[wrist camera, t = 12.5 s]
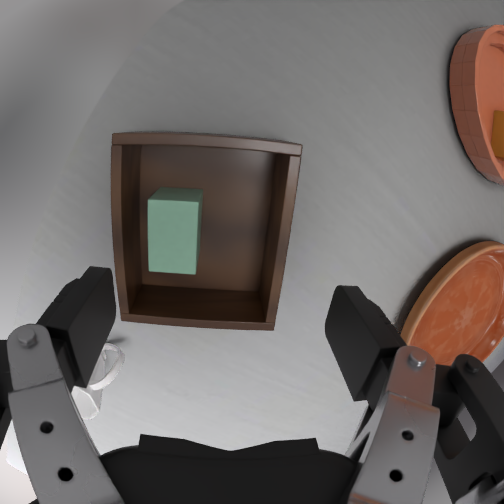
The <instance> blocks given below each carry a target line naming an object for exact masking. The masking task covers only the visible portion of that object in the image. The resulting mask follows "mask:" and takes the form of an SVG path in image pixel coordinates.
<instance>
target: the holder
mask: <svg viewBox="0 0 504 504" xmlns="http://www.w3.org/2000/svg"><path fill="white" fill-rule="evenodd" d="M301 154H302V145H301V144H297V143H293V142H288V141H282V140H274V139H266V138H257V137H247V136H236V135H223V134H208V133H189V132H123V133H113V134H112V147H111V216H112V236H113V251H114V263H115V274H116V283H117V292H118V300H119V307H120V315H121V321H128V322H137V323H147V324H158V325H170V326H182V327H197V328H214V329H236V330H270V331H273V330H274V326H275V320H276V315H277V309H278V303H279V298H280V292H281V286H282V280H283V274H284V268H285V262H286V256H287V250H288V244H289V237H290V231H291V224H292V218H293V211H294V204H295V198H296V191H297V184H298V176H299V169H300V162H301V157H300V156H301ZM160 187H171V188H190V189H203V201H202V218H201V236H200V253H199V258H198V264H197V270H196V274H181V273H167V272H153V271H149V262H148V199H149V198H150V197H151V196H152V195H153V194H154V193H155V192H156V191H157V190H158V189H159V188H160Z"/></svg>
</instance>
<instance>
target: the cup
mask: <svg viewBox="0 0 504 504" xmlns="http://www.w3.org/2000/svg"><path fill="white" fill-rule="evenodd" d="M106 349H109V350H114V351H116V352H118V357H117V359H116V361H115V363H114V365H113V366H112V368H111V370H110V371H109V372H108V373H107V374H106V375H105V363H104V361H105V360H106V358H107V356H106V354H105V351H104V350H106ZM123 362H124V353H123V352H122V351H121V350H120V349H119V347H118V346H116V345H114V344H111V343H105V344H104V347H103V349H102V351H101V354H100V356H99V358H98V361H97V363H96V366H95V368H94V370H93V373H92V375H91V378H90V380H89V383H88V385H87V388H81V387H77V386H74V388H73V390H72V392H71V394H72V396H73V399H74V401H75V404H76V406H77V408H78V411H79V413H80V415H81V417H82V419H86V420H92V419H93V418H94V417H95V416H96V415H97V414H98V413H99V412H100V405H101V397H102V390H103V388H104V387H105V386H107V385H109V384H110V383H111V381H112V380H113V379H114V378H115V377H116V376H117V374H118V372H119V371H120V369H121V367H122V365H123Z"/></svg>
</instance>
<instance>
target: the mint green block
mask: <svg viewBox="0 0 504 504" xmlns="http://www.w3.org/2000/svg"><path fill="white" fill-rule="evenodd" d="M202 201H203V189H190V188H171V187H160V188H159V189H158V190H157V191H156V192H155V193H154V194H153V195H152V196H151V197H150V198H149V199H148V262H149V271H153V272H167V273H181V274H196V270H197V264H198V258H199V253H200V236H201V218H202Z"/></svg>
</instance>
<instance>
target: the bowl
mask: <svg viewBox="0 0 504 504" xmlns="http://www.w3.org/2000/svg"><path fill="white" fill-rule="evenodd" d="M449 86H450V94H451V102H452V110H453V114H454V118H455V122H456V126H457V130H458V133H459V136H460V138H461V141H462V143H463V145H464V148H465V150H466V153H467V155H468V156H469V158H470V159H471V161H472V162H473V164H474V165H475V167H476V169H477V170H478V171H479V172H480V173H482V174H483V175H484V176H485V177H486V178H487V179H488V180H490V181H493V182H495V183H498V184H501V185H503V186H504V161H502V160H500V159H498V158H496V157H495V156H494V152H493V150H492V147H491V140H492V131H493V120H494V110H495V111H504V25H491V26H485V27H480V28H476V29H472V30H470V31H468V32H467V33H465V34H463V35H462V36H461V38H460V39H459V41H458V42H457V44H456V46H455V47H454V51H453V55H452V59H451V63H450V83H449Z"/></svg>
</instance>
